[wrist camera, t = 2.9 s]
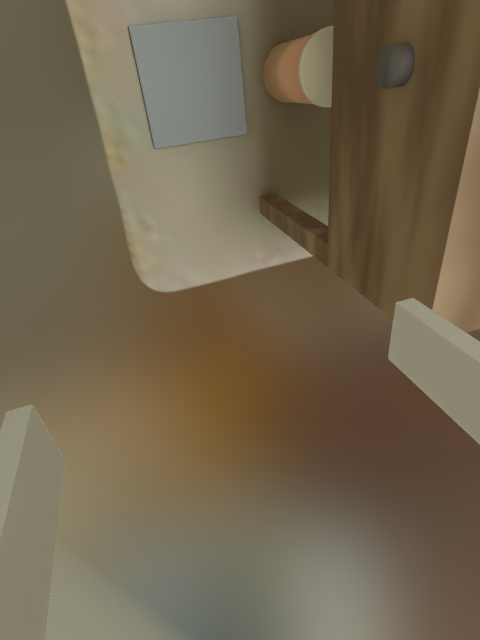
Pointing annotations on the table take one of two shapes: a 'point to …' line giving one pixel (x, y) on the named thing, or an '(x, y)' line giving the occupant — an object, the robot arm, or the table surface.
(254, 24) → the table surface
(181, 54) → the mat
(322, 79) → the canister
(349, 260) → the cabinet
